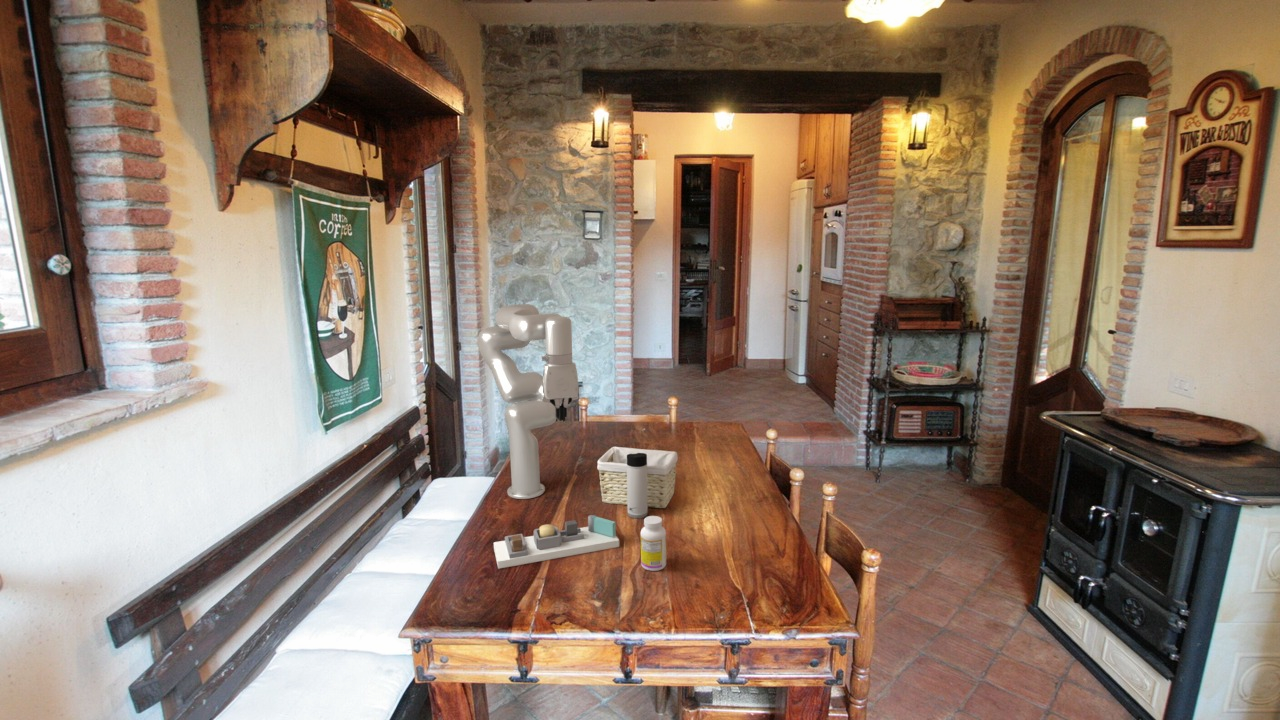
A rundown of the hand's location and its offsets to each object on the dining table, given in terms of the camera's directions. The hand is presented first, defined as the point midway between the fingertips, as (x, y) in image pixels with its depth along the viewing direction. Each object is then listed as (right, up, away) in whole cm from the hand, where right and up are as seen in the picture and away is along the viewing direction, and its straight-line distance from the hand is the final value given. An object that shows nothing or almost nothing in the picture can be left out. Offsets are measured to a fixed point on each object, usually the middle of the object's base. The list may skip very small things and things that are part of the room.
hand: (561, 419), depth 177 cm
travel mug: (+23, -31, +9) cm, 39 cm away
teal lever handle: (+12, -31, -8) cm, 35 cm away
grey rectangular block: (+4, -32, -10) cm, 34 cm away
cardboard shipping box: (-9, -34, -18) cm, 39 cm away
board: (0, -35, -12) cm, 36 cm away
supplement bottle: (+27, -36, -21) cm, 50 cm away
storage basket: (+23, -28, +21) cm, 42 cm away
